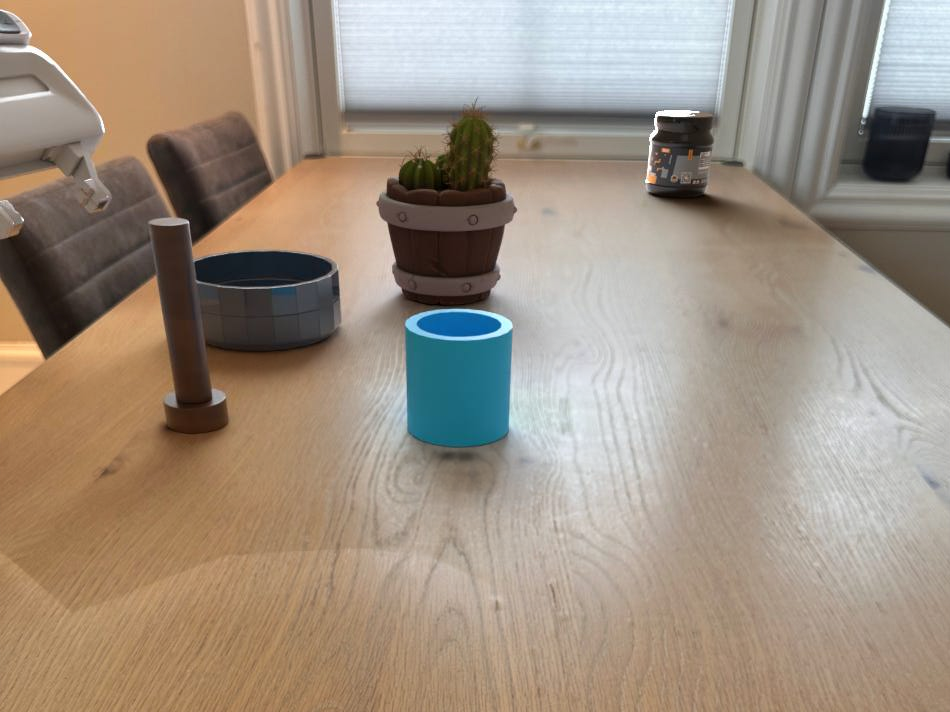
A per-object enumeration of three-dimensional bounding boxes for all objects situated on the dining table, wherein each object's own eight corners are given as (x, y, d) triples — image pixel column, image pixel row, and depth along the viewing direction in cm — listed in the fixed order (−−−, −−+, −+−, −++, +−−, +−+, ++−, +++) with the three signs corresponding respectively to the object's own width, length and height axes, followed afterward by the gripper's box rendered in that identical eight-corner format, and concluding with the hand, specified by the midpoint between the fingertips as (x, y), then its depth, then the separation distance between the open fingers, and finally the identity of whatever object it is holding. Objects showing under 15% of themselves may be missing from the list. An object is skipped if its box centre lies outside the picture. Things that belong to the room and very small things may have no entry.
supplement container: (644, 186, 172) (652, 109, 165) (705, 189, 171) (715, 111, 164) (644, 197, 163) (653, 116, 157) (708, 200, 162) (719, 118, 156)
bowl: (159, 327, 98) (149, 265, 95) (284, 300, 107) (279, 242, 104) (243, 364, 90) (235, 297, 86) (372, 332, 98) (369, 270, 95)
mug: (517, 444, 75) (522, 339, 71) (412, 448, 74) (410, 342, 70) (492, 390, 85) (495, 294, 81) (399, 393, 84) (396, 296, 80)
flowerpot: (352, 293, 110) (342, 91, 99) (447, 271, 120) (448, 83, 108) (444, 321, 102) (444, 104, 91) (538, 294, 111) (549, 95, 100)
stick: (155, 420, 78) (120, 220, 70) (208, 406, 81) (180, 211, 72) (187, 438, 75) (154, 231, 67) (240, 422, 78) (215, 222, 70)
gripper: (-209, 24, 58) (-33, 215, 61) (33, 14, 74) (164, 165, 77) (-234, 105, 62) (-67, 281, 65) (1, 78, 78) (127, 221, 80)
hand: (60, 218), depth 71 cm, fingers open, 8 cm apart
